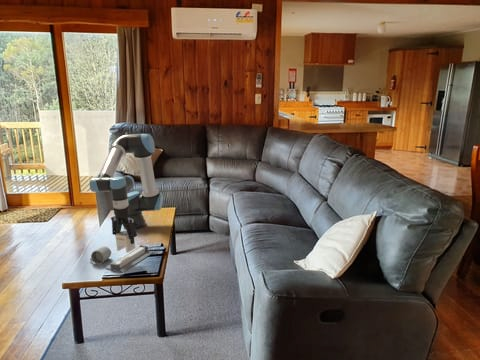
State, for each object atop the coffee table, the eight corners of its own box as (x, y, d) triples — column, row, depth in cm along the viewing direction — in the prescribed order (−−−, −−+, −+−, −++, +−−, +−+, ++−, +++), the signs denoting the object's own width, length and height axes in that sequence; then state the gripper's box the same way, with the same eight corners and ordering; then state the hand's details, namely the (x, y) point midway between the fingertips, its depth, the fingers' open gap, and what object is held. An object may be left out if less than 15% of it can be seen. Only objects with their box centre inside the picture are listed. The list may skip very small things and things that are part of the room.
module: (125, 246, 188) (123, 229, 186) (135, 248, 186) (133, 231, 183) (117, 250, 183) (114, 233, 181) (127, 252, 180) (125, 235, 178)
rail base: (136, 249, 201) (136, 244, 200) (153, 252, 196) (152, 247, 195) (105, 268, 180) (104, 262, 179) (123, 272, 175) (122, 266, 174)
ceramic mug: (113, 257, 192) (111, 245, 190) (104, 264, 184) (102, 251, 182) (96, 257, 194) (93, 244, 192) (86, 263, 186) (84, 250, 185)
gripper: (101, 207, 180) (106, 248, 185) (131, 211, 171) (136, 253, 177) (111, 203, 186) (116, 242, 191) (141, 206, 178) (145, 247, 183)
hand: (126, 248), depth 184 cm, fingers closed on module, 7 cm apart
